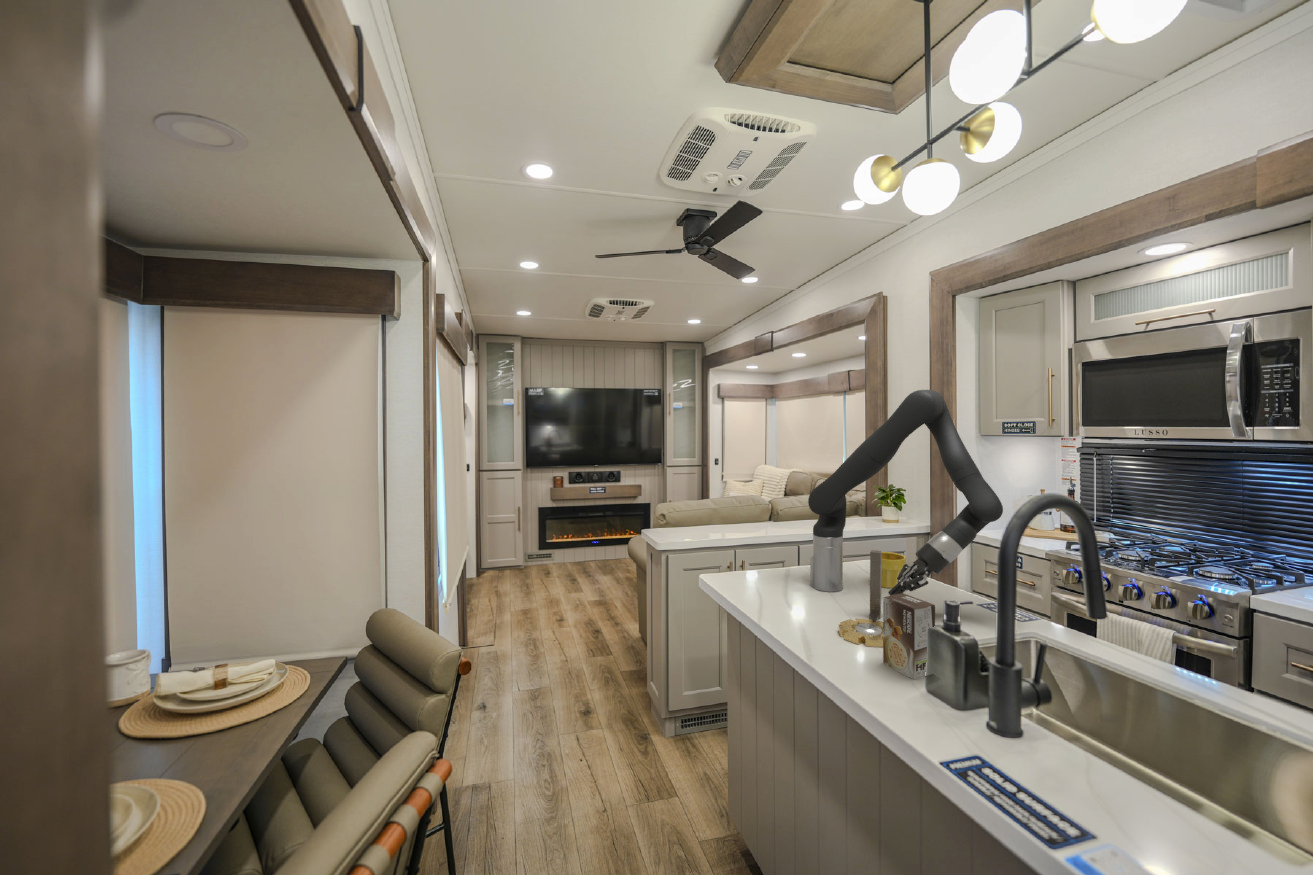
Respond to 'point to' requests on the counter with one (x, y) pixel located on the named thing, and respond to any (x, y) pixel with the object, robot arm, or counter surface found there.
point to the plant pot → (891, 568)
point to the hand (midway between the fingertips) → (891, 596)
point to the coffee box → (906, 633)
